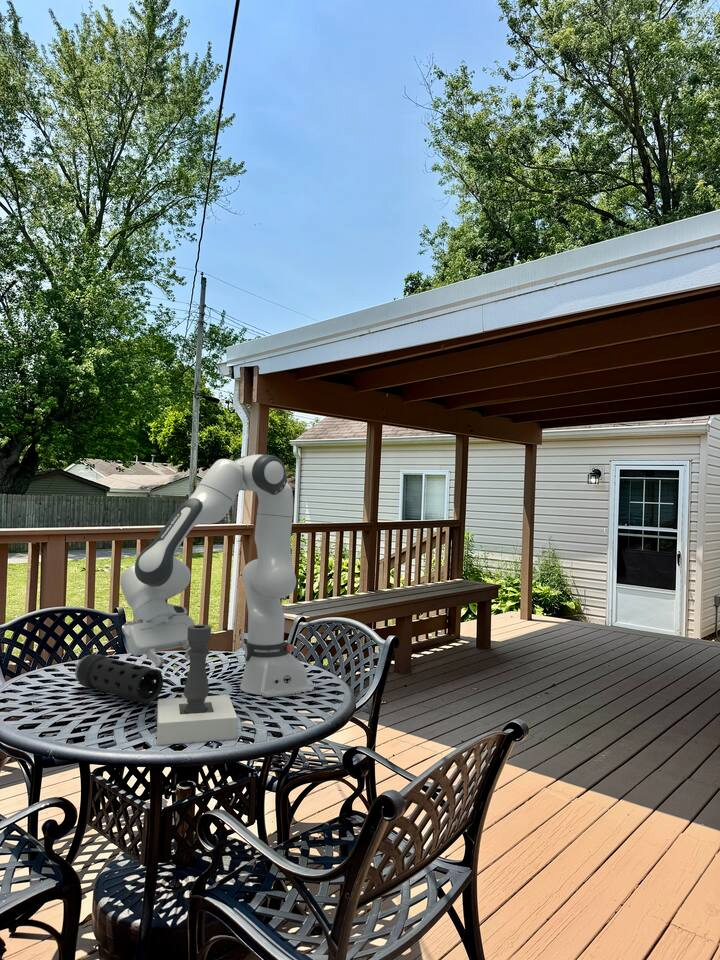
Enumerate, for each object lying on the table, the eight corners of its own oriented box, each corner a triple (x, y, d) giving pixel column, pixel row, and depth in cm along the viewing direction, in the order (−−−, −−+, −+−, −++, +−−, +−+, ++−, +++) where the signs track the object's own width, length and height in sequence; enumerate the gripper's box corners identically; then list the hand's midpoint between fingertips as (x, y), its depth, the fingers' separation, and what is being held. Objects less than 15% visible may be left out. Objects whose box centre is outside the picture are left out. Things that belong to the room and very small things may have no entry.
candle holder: (181, 725, 154) (185, 624, 155) (206, 723, 156) (210, 624, 157) (182, 734, 148) (187, 629, 149) (208, 731, 150) (213, 629, 151)
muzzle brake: (134, 711, 163) (137, 672, 164) (71, 691, 178) (73, 655, 178) (163, 702, 171) (165, 665, 172) (100, 684, 186) (102, 650, 186)
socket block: (227, 713, 164) (228, 694, 164) (236, 738, 147) (237, 717, 147) (156, 718, 158) (158, 699, 158) (156, 745, 141) (158, 723, 141)
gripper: (125, 615, 154) (147, 661, 148) (190, 606, 171) (212, 647, 165) (114, 630, 157) (135, 676, 150) (179, 620, 173) (200, 661, 167)
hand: (176, 661), depth 158 cm, fingers open, 8 cm apart
